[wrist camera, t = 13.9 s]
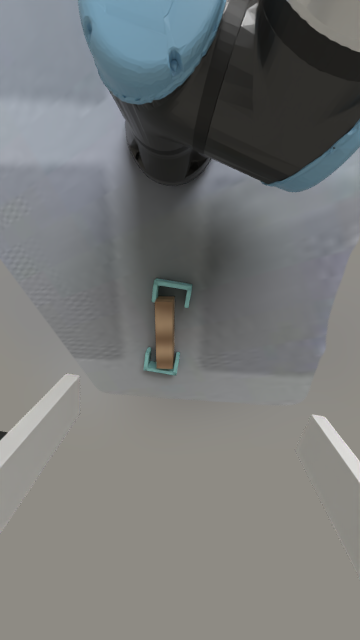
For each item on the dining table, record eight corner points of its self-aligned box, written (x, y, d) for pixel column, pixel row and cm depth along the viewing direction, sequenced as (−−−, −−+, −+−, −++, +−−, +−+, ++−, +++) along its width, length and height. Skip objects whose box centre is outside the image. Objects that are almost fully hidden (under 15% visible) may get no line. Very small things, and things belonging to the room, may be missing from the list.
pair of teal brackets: (156, 278, 44) (154, 280, 41) (192, 284, 44) (192, 286, 41) (146, 363, 51) (143, 370, 48) (177, 368, 51) (176, 375, 48)
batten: (158, 296, 46) (154, 301, 41) (174, 296, 46) (172, 302, 41) (159, 357, 51) (156, 368, 46) (174, 357, 51) (172, 369, 46)
